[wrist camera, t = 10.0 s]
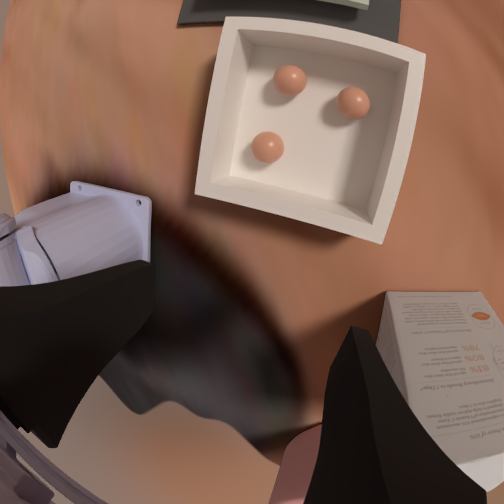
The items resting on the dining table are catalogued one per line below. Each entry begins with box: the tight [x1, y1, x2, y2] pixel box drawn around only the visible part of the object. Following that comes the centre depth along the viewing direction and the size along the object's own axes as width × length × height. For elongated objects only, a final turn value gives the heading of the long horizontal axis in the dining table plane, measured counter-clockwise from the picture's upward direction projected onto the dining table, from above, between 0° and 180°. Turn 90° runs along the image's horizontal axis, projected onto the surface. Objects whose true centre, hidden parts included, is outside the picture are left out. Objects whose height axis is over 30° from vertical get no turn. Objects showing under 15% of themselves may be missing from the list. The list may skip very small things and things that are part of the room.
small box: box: [376, 291, 504, 492], centre depth 12 cm, size 8×6×13 cm
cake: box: [269, 424, 322, 504], centre depth 19 cm, size 20×20×14 cm
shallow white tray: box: [195, 17, 426, 245], centre depth 13 cm, size 10×10×4 cm
